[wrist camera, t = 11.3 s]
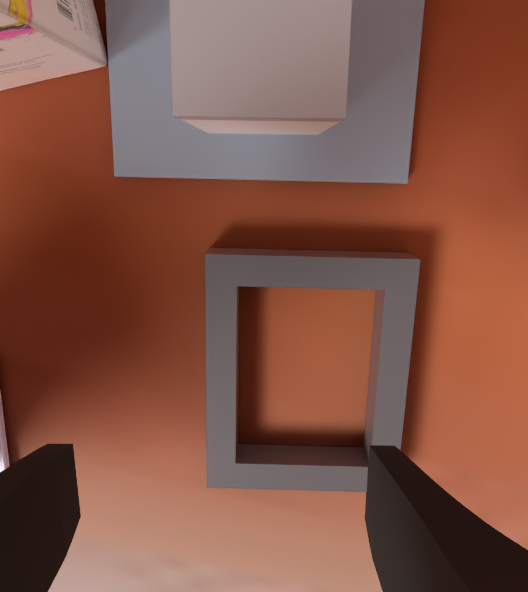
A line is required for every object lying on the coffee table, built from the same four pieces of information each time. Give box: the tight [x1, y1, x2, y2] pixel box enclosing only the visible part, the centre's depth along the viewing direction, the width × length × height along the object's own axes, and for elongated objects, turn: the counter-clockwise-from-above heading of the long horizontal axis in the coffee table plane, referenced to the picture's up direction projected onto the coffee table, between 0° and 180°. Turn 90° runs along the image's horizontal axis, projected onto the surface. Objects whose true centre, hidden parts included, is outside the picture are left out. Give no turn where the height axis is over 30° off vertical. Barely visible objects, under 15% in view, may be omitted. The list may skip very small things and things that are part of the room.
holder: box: [205, 248, 421, 492], centre depth 21 cm, size 8×10×2 cm
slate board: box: [105, 0, 425, 184], centre depth 18 cm, size 11×10×1 cm
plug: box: [169, 0, 352, 135], centre depth 14 cm, size 4×6×7 cm, turn 179°
